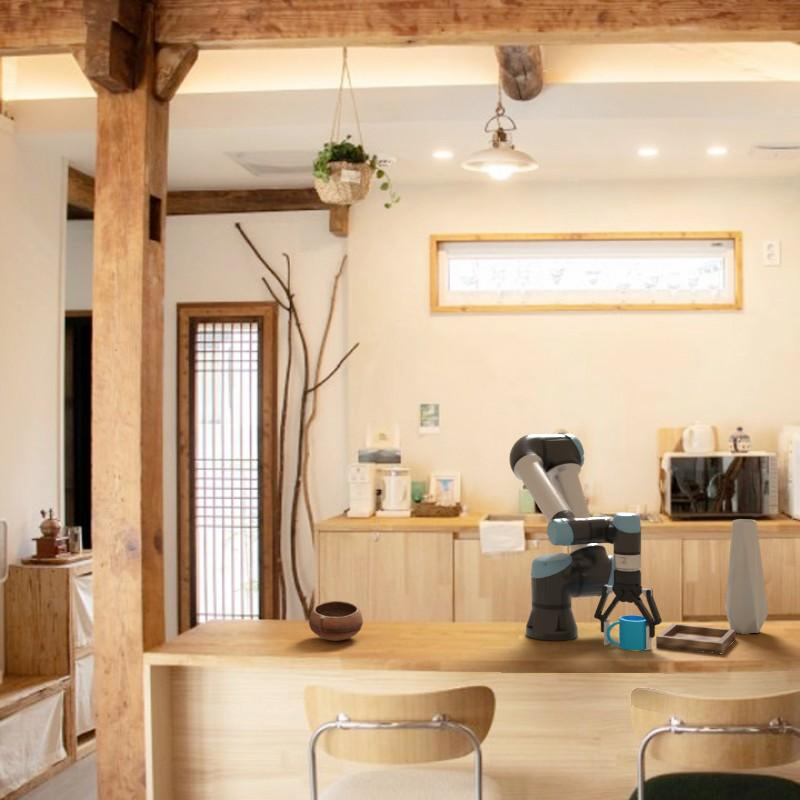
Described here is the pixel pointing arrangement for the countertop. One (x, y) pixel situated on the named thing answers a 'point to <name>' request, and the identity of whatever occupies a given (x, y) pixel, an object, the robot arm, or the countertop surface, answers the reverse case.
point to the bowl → (335, 620)
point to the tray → (696, 638)
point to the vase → (745, 580)
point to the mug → (630, 632)
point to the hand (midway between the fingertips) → (627, 646)
